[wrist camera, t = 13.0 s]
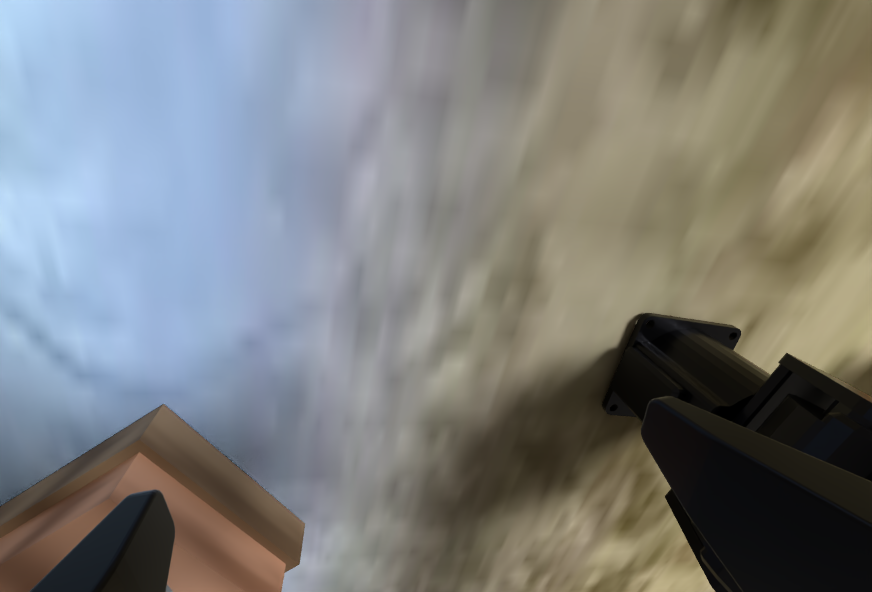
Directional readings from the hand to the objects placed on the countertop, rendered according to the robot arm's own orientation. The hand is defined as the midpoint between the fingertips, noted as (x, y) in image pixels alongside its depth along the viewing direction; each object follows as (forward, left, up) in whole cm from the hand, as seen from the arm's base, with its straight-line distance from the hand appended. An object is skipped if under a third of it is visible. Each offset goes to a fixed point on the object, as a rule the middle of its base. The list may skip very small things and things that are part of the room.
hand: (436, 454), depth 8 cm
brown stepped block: (+10, +17, -13) cm, 24 cm away
